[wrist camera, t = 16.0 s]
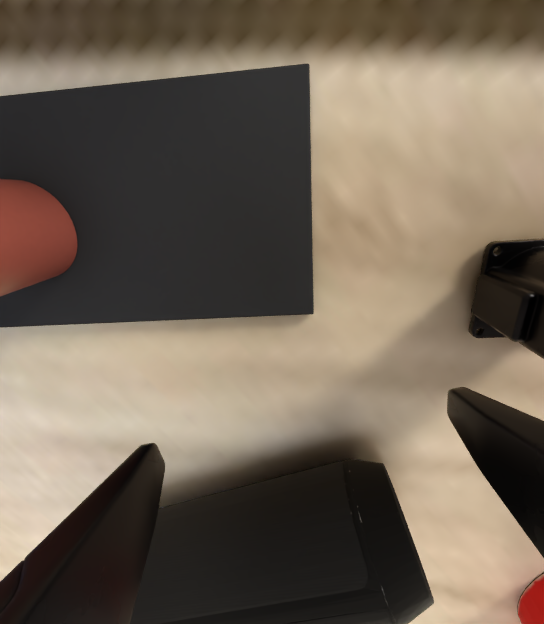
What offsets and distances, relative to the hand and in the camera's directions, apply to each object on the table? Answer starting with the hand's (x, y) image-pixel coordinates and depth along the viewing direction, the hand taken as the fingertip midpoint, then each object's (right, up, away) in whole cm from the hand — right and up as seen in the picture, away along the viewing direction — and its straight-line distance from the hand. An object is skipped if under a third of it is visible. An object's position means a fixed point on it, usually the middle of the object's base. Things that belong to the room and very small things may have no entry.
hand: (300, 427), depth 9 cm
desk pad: (-10, +9, +10) cm, 17 cm away
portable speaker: (-3, -14, +20) cm, 24 cm away
